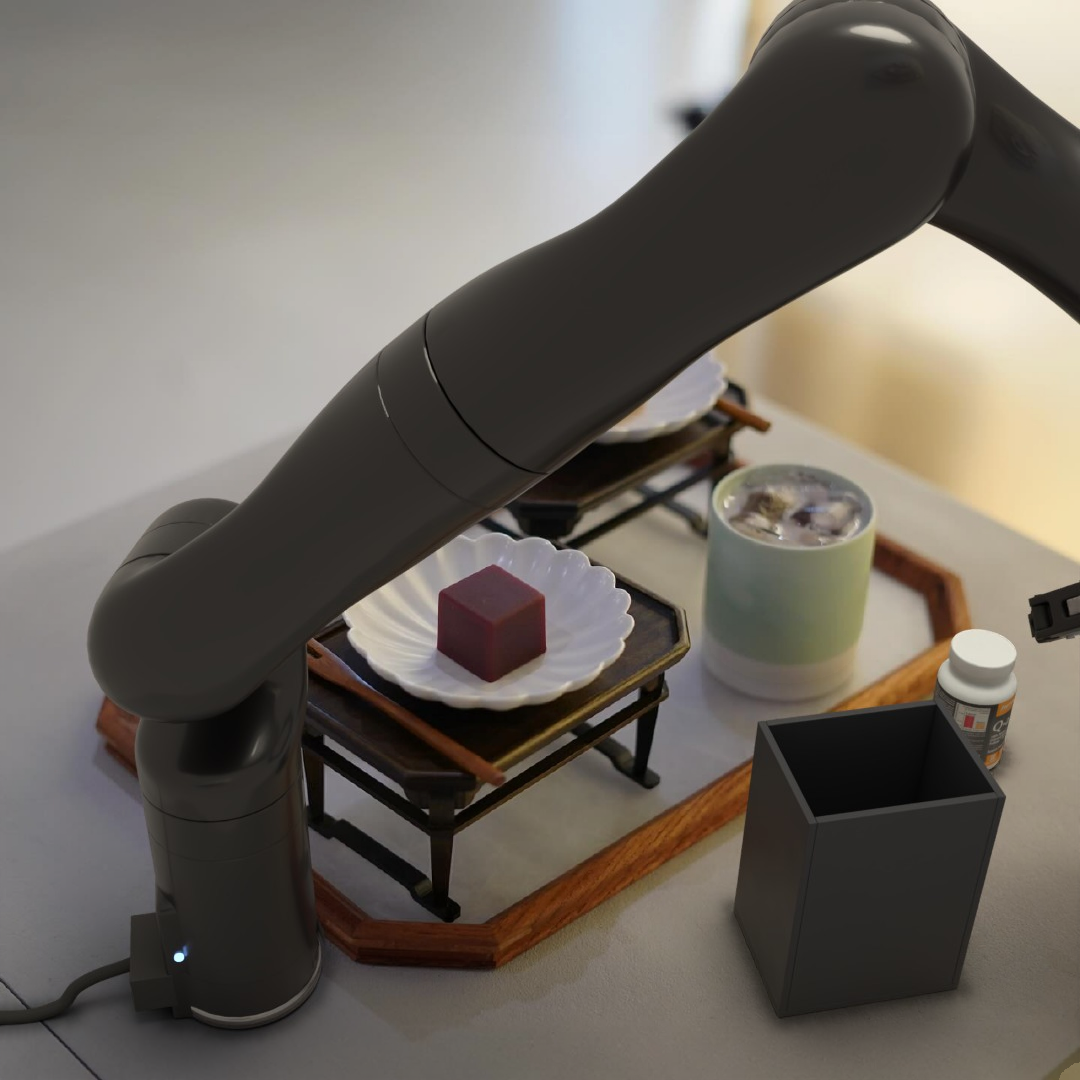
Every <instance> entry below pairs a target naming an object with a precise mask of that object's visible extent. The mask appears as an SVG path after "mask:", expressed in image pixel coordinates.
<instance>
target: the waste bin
mask: <svg viewBox="0 0 1080 1080" xmlns="http://www.w3.org/2000/svg"><path fill="white" fill-rule="evenodd" d="M756 725H757V726H756V731H755V740H754V748H753V755H752V763H751V772H750V779H749V785H748V794H747V795H748V796H747V803H746V811H745V819H744V826H743V834H742V841H741V850H740V858H739V863H738V864H739V865H738V866H739V867H738V873H737V881H736V887H735V888H736V889H735V895H734V896H735V897H734V904H733V912H734V915H735V917H736V919H737V922H738V924H739V928H740V929H741V931H742V934H743V936H744V939H745V941H746V944H747V946H748V948H749V951H750V953H751V956H752V959H753V960H754V962H755V966H756V968H757V971H758V973H759V975H760V978H761V980H762V982H763V985H764V987H765V989H766V991H767V994H768V996H769V999H770V1002H771V1004H772V1006H773V1008H774V1011H775V1014H776V1015H777V1018H785V1017H790V1016H798V1015H803V1014H810V1013H816V1012H822V1011H827V1010H834V1009H840V1008H846V1007H853V1006H859V1005H864V1004H871V1003H878V1002H882V1001H887V1000H888V1001H890V1000H895V999H899V998H900V999H901V998H905V997H906V998H907V997H913V996H919V995H925V994H931V993H937V992H938V993H939V992H944V991H950V990H956V989H958V987H959V984H960V980H961V976H962V972H963V968H964V964H965V961H966V956H967V953H968V948H969V944H970V940H971V937H972V932H973V928H974V925H975V921H976V918H977V914H978V909H979V906H980V902H981V898H982V893H983V890H984V885H985V882H986V879H987V873H988V871H989V867H990V862H991V858H992V854H993V850H994V846H995V844H996V843H995V842H996V839H997V835H998V832H999V827H1000V822H1001V819H1002V816H1003V811H1004V808H1005V803H1006V800H1007V795H1006V794H1005V792H1004V791H1003V789H1002V787H1001V786H1000V785H999V783H998V782H997V780H996V778H995V777H994V775H993V774H992V773H991V771H990V769H989V770H988V768H987V767H986V765H985V764H984V762H983V761H982V759H981V758H980V756H979V755H978V753H977V752H976V750H975V749H974V747H973V746H972V744H971V743H970V741H969V740H968V738H967V737H966V735H965V734H964V732H963V731H962V729H961V728H960V726H959V725H958V723H957V722H956V720H955V719H954V717H953V716H952V714H951V713H950V712H949V710H948V709H947V707H946V706H945V704H944V703H943V701H942V700H941V699H934V700H933V698H932V699H924V700H918V701H911V702H902V703H895V704H893V703H892V704H886V705H879V706H878V705H877V706H870V707H862V708H854V709H853V708H852V709H846V710H838V711H831V712H823V713H822V712H821V713H815V714H806V715H800V716H799V715H797V716H790V717H782V718H775V719H768V720H759V721H757V724H756Z"/></svg>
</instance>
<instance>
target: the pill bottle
mask: <svg viewBox="0 0 1080 1080" xmlns="http://www.w3.org/2000/svg"><path fill="white" fill-rule="evenodd" d="M1017 654H1018V653H1017V649H1016V647H1015V645H1014V644H1013V642H1011V641H1010V640H1009V639H1008V638H1006V637H1005V636H1003V635H1001V634H1000V633H997V632H994V631H991V630H988V629H980V628H979V629H978V628H973V629H966V630H961V631H960V632H958V633H956V634H955V635H954V636H953V637H952V639H951V641H950V646H949V649H948V658H947V659H945V660H944V661H943V662H942V663H941V665H940V667H939V668H938V671H937V675H936V678H935V679H936V680H935V684H934V689H933V695H932V699H933V700H934V699H941V700H942V701H943V703H944V704H945V706H946V707H947V709H948V710H949V712H950V713H951V714H952V716H953V717H954V719H955V720H956V722H957V723H958V725H959V726H960V728H961V729H962V731H963V732H964V734H965V735H966V737H967V738H968V740H969V741H970V743H971V744H972V746H973V747H974V749H975V750H976V752H977V753H978V755H979V756H980V758H981V759H982V761H983V762H984V764H985V765H986V767H987V768H988V770H989V771H990V770H991V769H993V768H994V767H995V766H997V764H998V763H999V761H1000V760H1001V757H1002V753H1003V749H1004V745H1005V741H1006V736H1007V731H1008V727H1009V724H1010V719H1011V716H1012V710H1013V706H1014V702H1015V699H1016V695H1017V694H1016V693H1017V691H1018V682H1017V681H1018V680H1017V678H1016V675H1015V672H1014V669H1015V666H1016V661H1017V656H1018V655H1017Z"/></svg>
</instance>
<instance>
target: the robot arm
mask: <svg viewBox="0 0 1080 1080" xmlns="http://www.w3.org/2000/svg"><path fill="white" fill-rule="evenodd" d="M926 224H927V225H929V226H932V227H934V228H937V229H939V230H941V231H943V232H945V233H947V234H949V235H951V236H954V237H955V238H956V239H959V240H961V241H962V242H964V243H965V244H968V245H970V246H971V247H973V248H974V249H976V250H978V251H979V252H981V253H983V254H984V255H986V256H988V257H989V258H991V259H993V260H994V261H995V262H997V263H999V264H1001V265H1002V266H1003V267H1005V268H1006V269H1008V270H1009V271H1010V272H1012V273H1013V274H1015V275H1016V276H1017V277H1019V278H1021V280H1024V281H1025V282H1026V283H1028V284H1029V285H1031V287H1033V288H1034V289H1035V290H1037V291H1038V292H1040V293H1041V294H1042V295H1043V296H1044V297H1046V298H1047V299H1048V300H1050V302H1052V303H1053V304H1055V305H1056V306H1057V307H1058V308H1060V309H1061V310H1062V311H1063V312H1064V313H1066V315H1068V316H1069V317H1070V318H1071V319H1072V320H1073V321H1075V322H1076V323H1077V324H1078V325H1079V326H1080V128H1079V127H1077V126H1076V125H1075V124H1073V123H1072V122H1071V121H1069V120H1068V119H1066V118H1065V117H1064V116H1063V115H1061V114H1060V113H1058V112H1057V111H1056V110H1055V109H1053V108H1052V107H1051V106H1049V105H1048V104H1047V103H1045V102H1044V101H1043V100H1042V99H1041V98H1039V97H1038V96H1036V95H1035V94H1034V93H1033V92H1032V91H1031V90H1029V88H1027V87H1026V86H1025V85H1024V84H1022V83H1021V82H1020V81H1019V80H1018V79H1016V78H1015V77H1014V76H1013V75H1012V74H1010V72H1008V71H1007V70H1006V69H1005V68H1004V67H1003V66H1001V65H1000V64H999V63H998V62H997V61H996V60H995V59H994V58H993V57H992V56H991V55H989V54H988V53H987V52H986V51H985V50H984V49H982V48H981V46H979V45H978V44H977V43H976V42H975V41H974V40H973V39H971V38H970V37H969V35H967V34H966V33H964V32H963V30H961V29H960V28H959V27H958V26H957V25H956V24H954V22H953V21H951V20H950V19H949V18H948V17H947V16H946V14H945V13H944V12H943V11H942V9H941V8H939V6H937V5H936V4H935V3H934V2H933V1H932V0H792V1H790V3H789V4H787V5H786V6H785V7H784V8H783V9H782V10H781V11H780V12H779V13H778V14H776V16H775V17H774V19H773V20H772V22H771V23H770V24H769V26H768V27H767V28H766V30H765V31H764V33H763V34H762V36H761V37H760V39H759V41H758V43H757V45H756V47H755V49H754V51H753V54H752V56H751V58H750V61H749V63H748V66H747V69H746V71H745V72H744V74H743V76H742V77H741V78H740V79H739V80H738V81H737V83H736V84H735V85H734V86H733V88H732V89H730V91H729V93H727V95H726V96H725V97H724V98H722V100H721V101H720V102H719V103H718V104H717V105H716V106H715V107H714V108H713V109H712V111H710V113H708V115H707V116H706V117H705V118H704V119H703V120H702V121H701V122H700V123H699V124H698V125H697V126H696V127H695V128H694V129H693V130H692V131H691V132H690V133H689V134H688V135H687V136H686V137H684V138H683V139H682V140H681V141H680V143H678V144H677V145H676V146H675V147H674V148H673V149H672V150H671V151H669V153H667V154H666V155H665V156H664V157H663V158H662V159H661V160H660V161H659V162H658V163H656V164H655V165H654V167H652V168H651V169H650V170H648V172H646V174H644V176H643V177H641V178H640V179H639V180H638V181H637V182H636V183H635V184H633V185H632V186H631V187H630V188H629V189H628V190H626V191H625V192H624V193H623V194H622V195H620V196H619V197H618V198H617V199H616V200H614V201H613V202H612V203H610V204H609V205H607V206H606V207H605V208H603V209H602V210H600V211H599V212H597V213H596V214H595V215H594V216H592V217H590V218H588V219H587V220H584V221H583V222H581V223H579V224H578V225H576V226H574V227H572V228H571V229H568V230H567V231H564V232H562V233H560V234H558V235H556V236H554V237H552V238H549V239H547V240H545V241H543V242H540V243H539V244H536V245H534V246H532V247H530V248H527V249H526V250H523V251H521V252H520V253H517V254H515V255H513V256H510V257H509V258H507V259H505V260H504V261H501V262H500V263H497V264H496V265H494V266H492V267H490V268H488V269H487V270H485V271H484V272H482V273H479V274H478V275H477V276H475V277H474V278H472V279H470V280H468V282H466V283H464V284H463V285H461V286H460V287H458V288H457V289H456V290H455V291H453V292H451V293H450V294H448V295H447V296H446V297H445V298H443V299H442V300H440V301H439V302H437V303H436V304H435V305H434V306H433V307H432V308H430V309H429V310H427V311H426V312H425V313H424V314H422V316H420V317H419V318H418V319H417V320H415V321H414V322H413V323H412V324H410V326H408V327H407V328H405V329H404V330H403V331H402V332H400V333H399V334H398V335H397V336H396V337H395V338H393V339H392V340H391V341H390V342H388V344H386V345H385V346H383V347H382V348H381V350H379V351H378V352H377V353H376V354H375V355H374V356H373V357H372V358H371V359H369V360H368V362H366V364H365V365H363V366H362V368H361V369H360V370H358V371H357V373H355V375H353V376H352V378H350V379H349V380H348V381H347V383H345V384H344V386H342V388H341V389H340V390H339V391H338V392H337V393H336V394H335V395H334V396H333V397H332V398H331V400H329V401H328V403H327V404H326V405H325V406H324V407H323V408H322V409H321V410H320V411H319V412H318V414H317V415H316V416H315V417H314V418H313V420H311V422H310V423H309V424H308V425H307V426H306V428H304V430H303V431H302V432H301V434H299V436H297V438H296V439H295V440H294V442H292V444H291V445H290V447H288V449H287V450H286V451H285V452H284V454H283V455H282V456H281V458H280V459H279V460H278V461H277V462H276V464H275V465H274V466H273V467H272V468H271V470H270V471H269V472H268V473H267V475H265V477H264V478H263V479H262V481H261V482H260V483H259V484H258V485H256V487H255V488H254V489H253V490H252V491H251V493H249V495H247V497H246V498H244V500H243V501H241V502H240V503H239V502H236V501H233V500H229V499H225V498H218V497H200V498H193V499H190V500H186V501H183V502H180V503H178V504H175V505H173V506H171V507H169V508H168V509H166V510H165V511H164V512H162V513H160V515H159V516H157V517H156V518H155V519H154V520H153V521H152V522H151V523H150V525H148V527H147V528H146V529H145V531H144V532H143V534H141V536H140V537H139V539H138V540H137V541H136V543H135V544H134V546H133V547H132V548H131V550H130V551H129V552H128V554H127V555H126V556H125V557H124V559H123V561H122V562H121V563H120V564H119V566H118V567H117V569H116V570H115V571H114V573H113V574H112V576H111V577H110V578H109V580H107V582H106V583H105V585H104V587H103V589H102V591H101V592H100V594H99V596H98V598H97V599H96V601H95V603H94V606H93V609H92V612H91V616H90V620H89V623H88V627H87V633H86V649H87V657H88V664H89V666H90V669H91V672H92V675H93V678H94V680H95V681H96V683H97V684H98V686H99V688H100V690H101V691H102V692H103V693H104V695H105V696H106V697H107V698H108V699H109V700H110V701H111V702H112V703H114V705H116V706H117V707H119V708H120V709H121V710H123V711H124V712H126V713H128V714H131V715H133V716H136V717H138V718H139V721H138V725H137V728H136V733H135V739H134V760H135V767H136V773H137V779H138V784H139V789H140V794H141V802H142V808H143V812H144V819H145V824H146V831H147V837H148V842H149V848H150V855H151V860H152V865H153V872H154V880H155V885H154V887H155V889H154V893H155V894H154V895H155V896H154V899H155V901H154V902H155V903H154V907H155V908H154V909H155V912H147V913H141V914H140V913H139V914H133V915H130V935H129V936H130V937H129V941H130V943H129V957H127V958H124V959H121V960H118V961H115V962H113V963H110V964H107V965H104V966H101V967H98V968H96V969H92V970H91V971H88V972H87V973H84V974H83V975H81V976H79V977H78V978H76V979H75V980H73V981H71V982H70V983H69V984H68V986H67V987H66V988H65V990H64V992H63V993H62V995H61V996H60V997H59V998H58V999H56V1000H54V1001H51V1002H49V1003H46V1004H43V1005H41V1006H37V1007H32V1008H25V1009H15V1010H14V1009H13V1010H0V1025H18V1024H27V1023H33V1022H38V1021H43V1020H46V1019H49V1018H53V1017H54V1016H57V1015H60V1014H61V1013H64V1012H65V1011H67V1010H68V1009H69V1008H70V1007H71V1006H72V1005H73V1004H74V1002H75V1001H76V999H77V997H78V996H79V995H80V994H81V993H82V992H84V991H85V990H87V989H88V988H90V987H92V986H94V985H97V984H99V983H101V982H104V981H107V980H109V979H112V978H115V977H119V976H122V975H124V974H128V973H129V986H130V991H131V996H132V1002H133V1006H134V1011H135V1012H136V1013H137V1012H143V1011H151V1010H156V1009H163V1008H169V1007H171V1009H172V1015H173V1017H174V1018H175V1019H182V1018H194V1019H196V1020H198V1021H199V1022H201V1023H204V1024H206V1025H210V1026H213V1027H216V1028H221V1029H230V1030H231V1029H232V1030H238V1029H240V1030H242V1029H250V1028H251V1029H252V1028H254V1027H255V1028H256V1027H261V1026H264V1025H267V1024H271V1023H273V1022H275V1021H278V1020H281V1018H284V1017H286V1016H287V1015H289V1014H290V1013H293V1012H294V1011H295V1010H296V1009H297V1008H298V1007H300V1006H301V1005H302V1004H303V1003H304V1002H305V1001H306V1000H307V999H308V998H309V996H310V995H311V993H312V992H313V991H314V989H316V986H317V984H318V981H319V979H320V977H321V973H322V968H323V967H322V965H323V959H322V948H321V941H320V938H321V940H322V943H323V945H324V946H326V935H325V930H324V928H323V926H322V924H321V921H320V919H319V917H318V915H317V907H316V906H317V905H316V898H315V885H314V876H313V875H314V874H313V863H312V854H311V843H310V832H309V821H308V811H307V810H308V809H307V800H306V799H307V797H306V788H305V778H304V766H303V765H304V764H303V751H302V735H303V731H304V727H305V726H304V725H305V720H306V716H307V711H308V710H307V709H308V700H309V670H308V669H309V668H308V642H310V640H311V639H313V638H314V637H315V636H316V635H317V634H318V633H319V632H321V631H322V630H323V629H324V628H325V627H326V626H328V625H329V624H330V623H332V622H333V621H334V620H335V619H337V618H338V617H340V615H342V614H343V613H344V612H346V611H347V610H348V609H350V608H351V607H353V606H354V605H356V604H357V603H359V602H360V601H362V600H363V599H365V598H366V597H368V596H370V595H371V594H373V593H375V592H376V591H378V590H380V589H381V588H382V587H384V586H386V585H387V584H389V583H391V582H392V581H394V580H395V579H397V578H398V577H400V576H401V575H403V574H404V573H406V572H407V571H409V570H411V569H413V568H414V567H415V566H417V565H418V564H420V563H421V562H422V561H424V560H425V559H427V558H428V557H430V556H431V555H432V554H434V553H436V552H437V551H438V550H440V549H442V548H443V547H444V546H446V545H448V544H449V543H451V542H452V541H453V540H454V539H456V538H457V537H459V536H461V535H462V534H463V533H465V532H466V531H468V530H469V529H471V528H472V527H474V526H475V525H477V524H479V523H481V522H483V521H484V520H485V519H487V518H488V517H490V516H492V515H493V514H495V513H496V512H498V511H500V510H501V509H502V508H504V507H506V506H508V504H510V503H512V502H513V501H515V500H516V499H518V498H519V497H520V496H522V495H523V494H525V493H526V492H527V491H529V490H530V489H532V488H533V487H535V486H536V485H537V484H538V483H541V482H542V481H543V480H544V479H546V478H547V477H549V476H550V475H551V474H553V473H554V472H555V471H557V470H559V469H560V468H561V467H562V466H564V465H565V464H566V463H568V462H570V461H571V460H572V459H573V458H574V457H576V456H577V455H578V454H580V453H581V452H582V451H583V450H585V449H586V448H587V447H589V445H591V444H592V443H593V442H595V441H596V440H598V439H599V438H600V437H602V436H603V435H605V433H607V432H608V431H610V430H611V429H613V428H614V427H615V426H617V425H618V424H619V423H621V422H622V421H623V420H624V419H626V418H627V417H628V416H630V415H631V414H633V413H634V412H635V411H637V410H638V409H639V408H640V407H642V406H643V405H645V403H647V402H648V401H650V399H652V398H653V397H654V396H656V395H657V394H658V393H659V392H661V391H662V390H663V389H664V388H665V387H667V386H668V385H669V384H671V382H673V381H674V380H675V379H677V378H678V377H679V376H680V375H681V374H682V373H683V372H684V371H686V370H688V368H689V367H691V366H692V365H693V364H694V363H696V362H697V361H699V360H700V359H702V357H704V356H705V355H706V354H708V353H709V352H711V351H712V350H714V349H715V348H716V347H718V346H720V345H721V344H723V343H724V342H726V341H727V340H729V339H731V338H732V337H734V336H735V335H737V334H738V333H740V332H741V331H743V330H745V329H746V328H748V327H750V326H752V325H754V324H756V323H757V322H759V321H760V320H763V319H764V318H766V317H768V316H770V315H771V314H773V313H775V312H777V311H778V310H780V309H782V308H783V307H785V306H787V305H789V304H791V303H793V302H794V301H797V300H798V299H800V298H802V297H804V296H806V295H807V294H809V293H810V292H813V291H814V290H817V289H818V288H820V287H821V286H824V285H825V284H827V283H829V282H831V281H833V280H834V279H837V278H838V277H840V276H842V275H843V274H845V273H847V272H849V271H851V270H852V269H854V268H857V267H858V266H860V265H862V264H863V263H865V262H867V261H869V260H871V259H873V258H874V257H876V256H878V255H880V254H881V253H883V252H885V251H887V250H889V249H890V248H892V247H894V246H895V245H896V244H897V245H898V244H899V243H901V242H902V241H904V240H905V239H907V238H908V237H910V236H911V235H913V234H914V233H915V232H917V231H918V230H919V229H921V228H922V227H923V226H924V225H926ZM1028 604H1029V607H1030V613H1028V614H1027V618H1028V624H1029V630H1030V634H1031V638H1033V639H1034V640H1035V641H1036V643H1037V644H1047V643H1052V642H1057V641H1059V640H1062V639H1065V640H1073V639H1076V637H1077V636H1080V580H1079V582H1075V583H1071V584H1069V585H1065V586H1063V587H1060V588H1056V589H1054V590H1051V591H1050V590H1049V591H1047V592H1045V593H1038V594H1034V595H1033V596H1032V597H1030V598H1028Z"/></svg>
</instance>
